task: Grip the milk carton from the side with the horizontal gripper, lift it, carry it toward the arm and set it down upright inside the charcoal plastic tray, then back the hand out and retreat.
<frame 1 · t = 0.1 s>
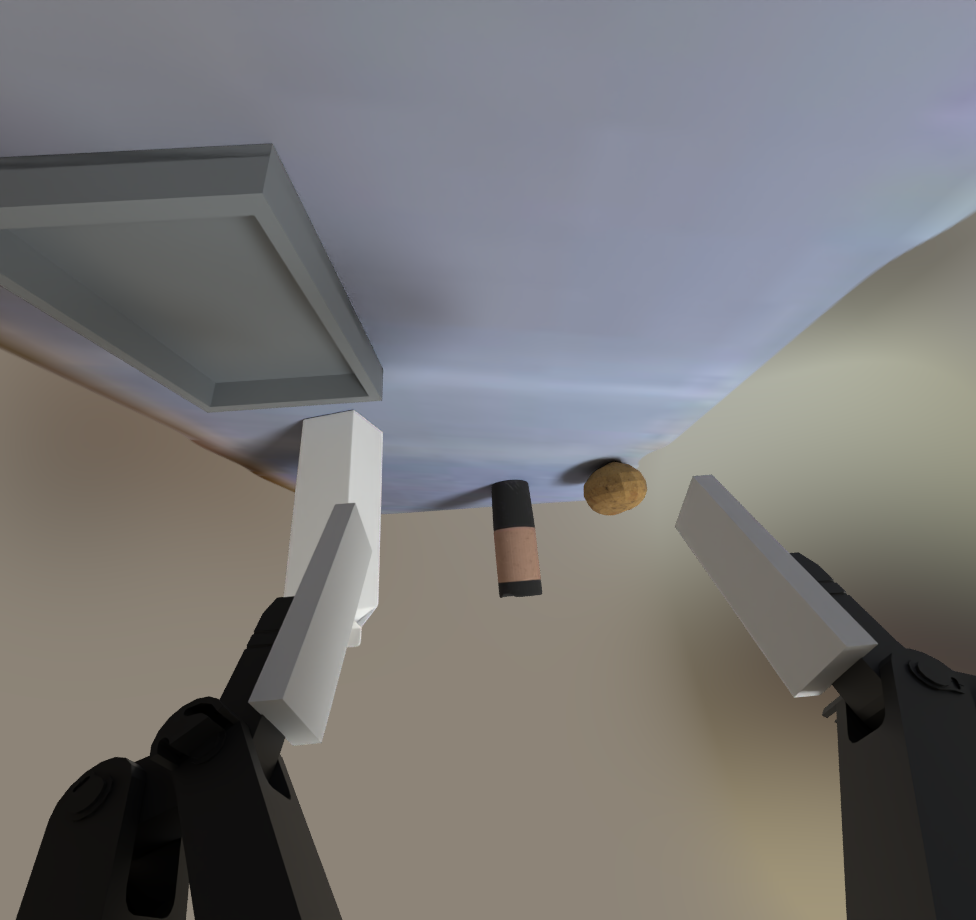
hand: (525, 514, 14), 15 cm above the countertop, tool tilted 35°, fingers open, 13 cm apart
milk: (345, 424, 39), on the countertop
travel mug: (509, 484, 68), on the countertop
potato: (610, 464, 60), on the countertop
tray: (233, 302, 22), on the countertop
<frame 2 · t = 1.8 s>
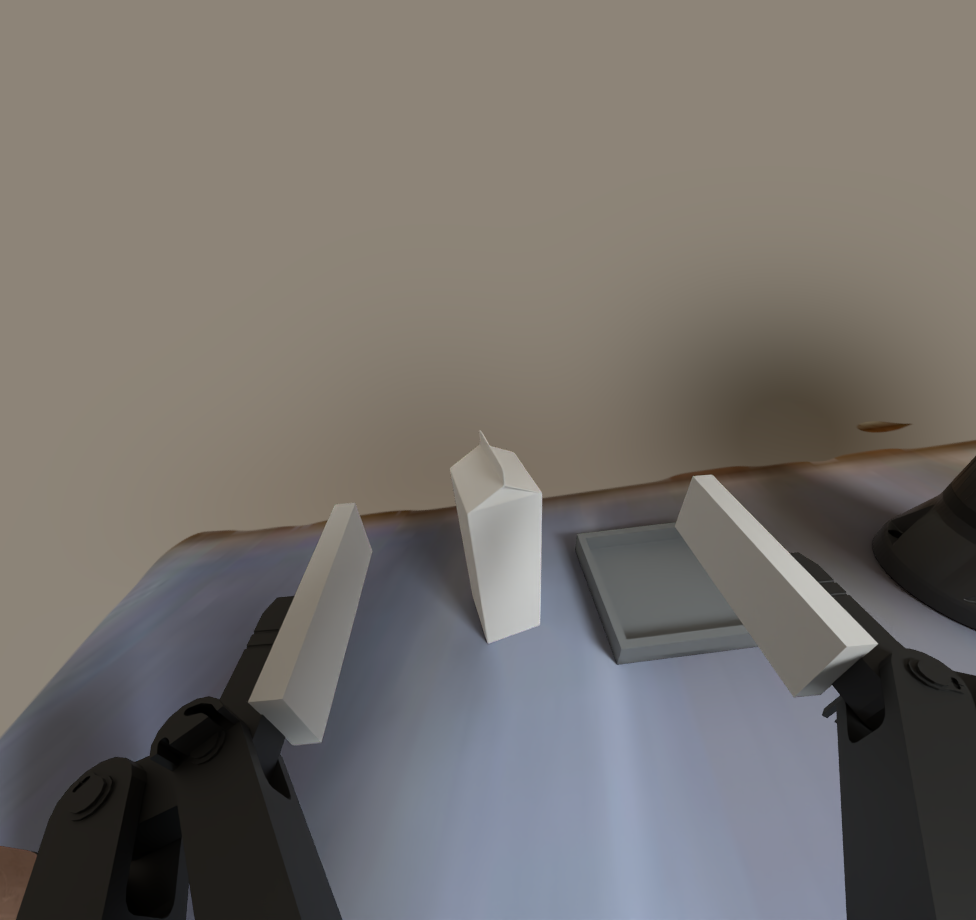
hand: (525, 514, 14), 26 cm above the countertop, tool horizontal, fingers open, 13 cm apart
milk: (505, 611, 39), on the countertop
tray: (663, 590, 39), on the countertop
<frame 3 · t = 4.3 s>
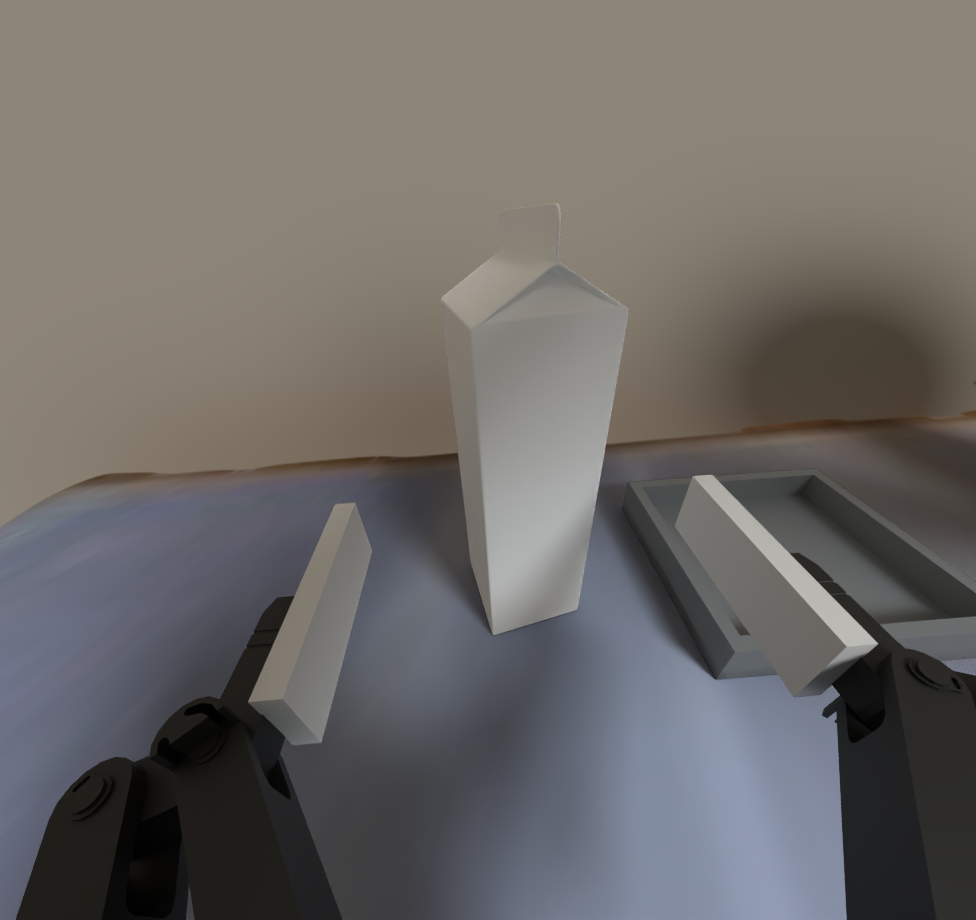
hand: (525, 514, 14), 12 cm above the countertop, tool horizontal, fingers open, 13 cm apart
milk: (520, 587, 25), on the countertop
tray: (767, 566, 25), on the countertop
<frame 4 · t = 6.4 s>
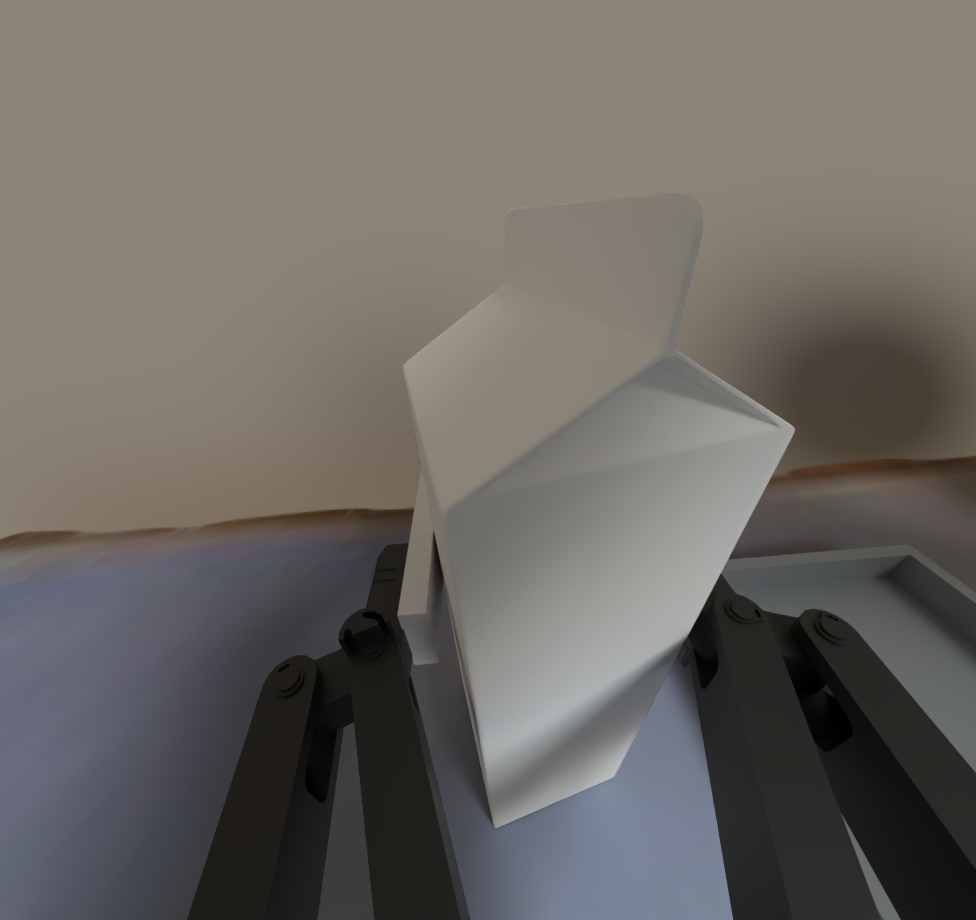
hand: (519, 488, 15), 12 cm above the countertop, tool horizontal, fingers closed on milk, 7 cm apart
milk: (531, 728, 18), on the countertop, touching gripper
tray: (867, 695, 19), on the countertop
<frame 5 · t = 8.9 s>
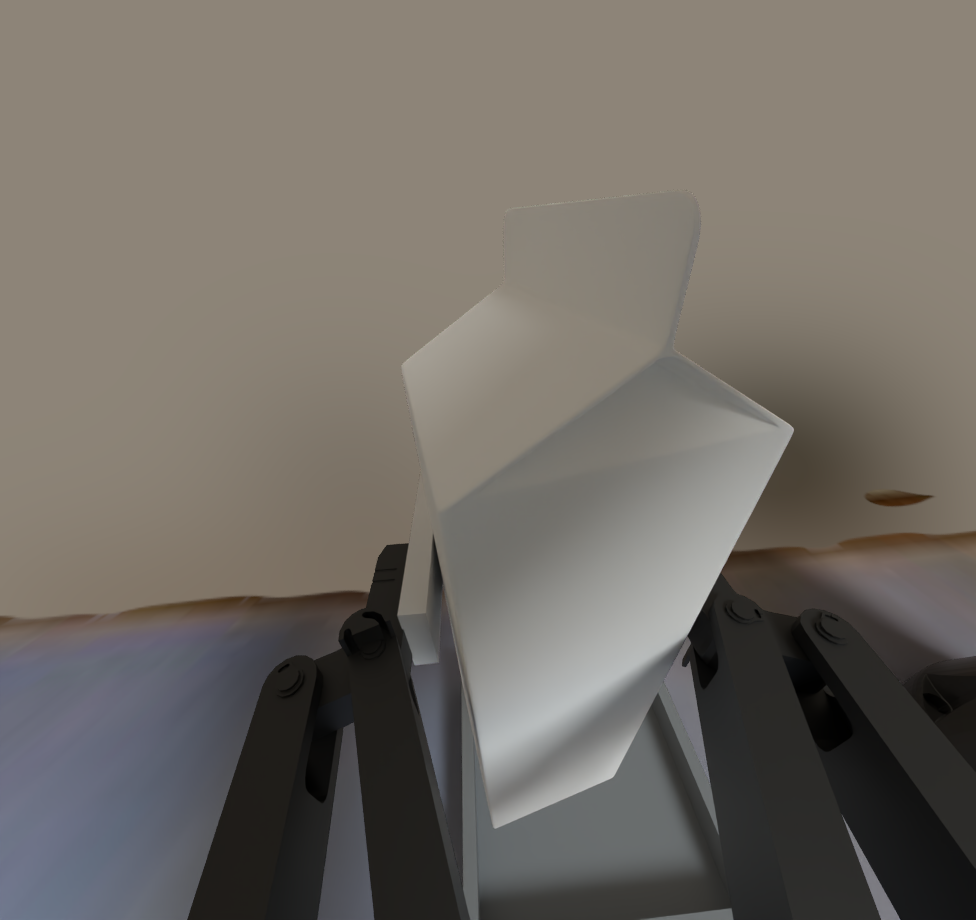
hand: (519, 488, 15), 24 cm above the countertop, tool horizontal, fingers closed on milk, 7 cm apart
milk: (531, 729, 18), point 12 cm above the countertop, touching gripper
tray: (576, 782, 25), on the countertop
when the fingers open (14 cm above the countertop, at t = 11.4 s): milk drops 2 cm, resting on tray.
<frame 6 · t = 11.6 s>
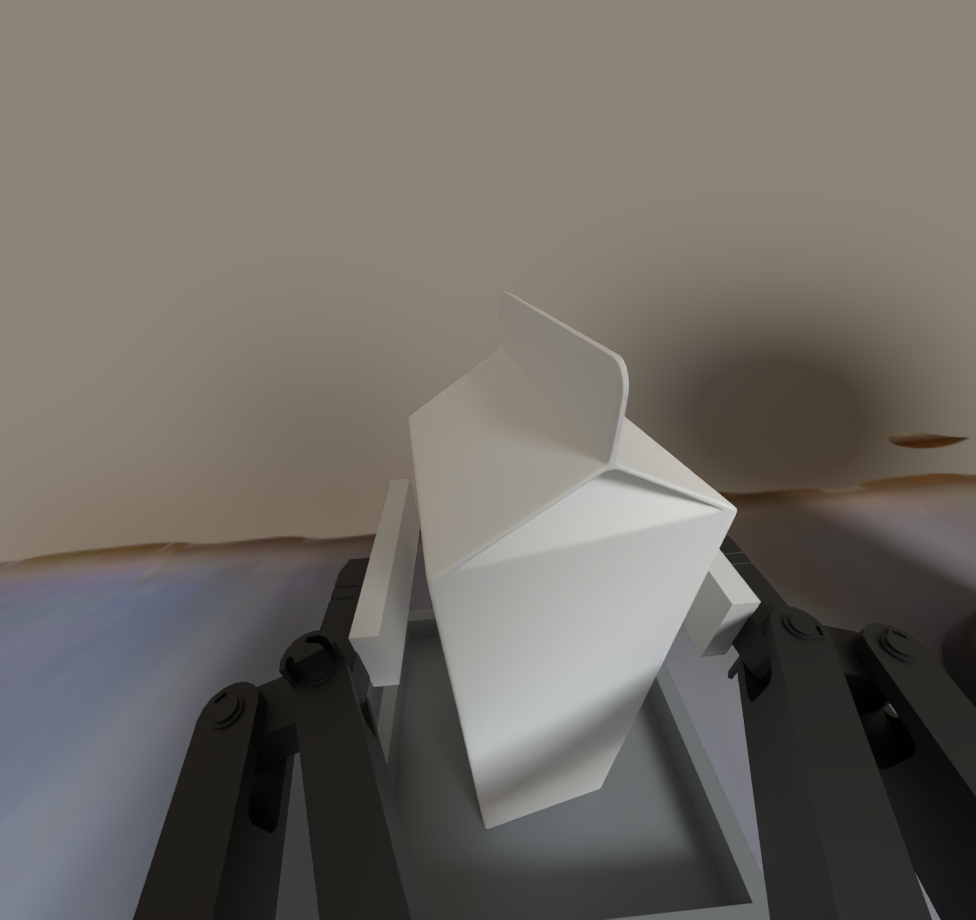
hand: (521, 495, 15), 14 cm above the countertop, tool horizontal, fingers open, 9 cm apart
milk: (525, 737, 19), point 1 cm above the countertop, touching tray
tray: (530, 744, 20), on the countertop
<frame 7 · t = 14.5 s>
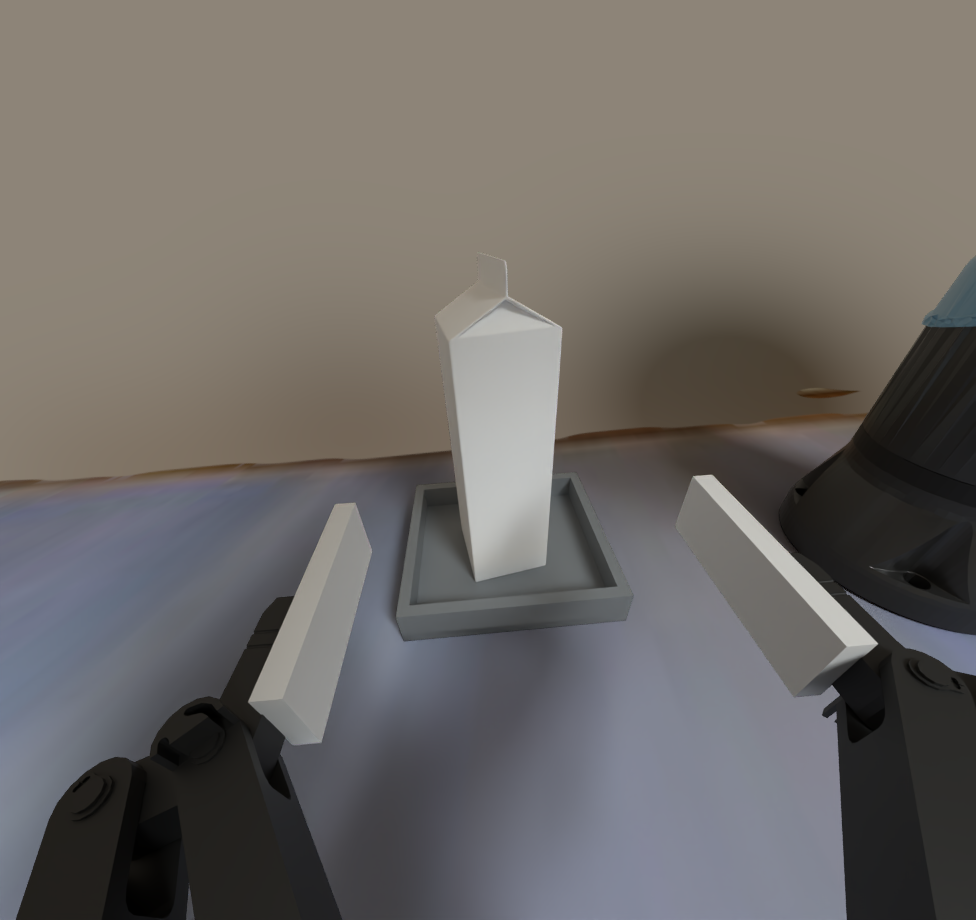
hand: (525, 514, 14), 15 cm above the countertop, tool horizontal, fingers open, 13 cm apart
milk: (501, 548, 31), point 1 cm above the countertop, touching tray
tray: (505, 553, 31), on the countertop
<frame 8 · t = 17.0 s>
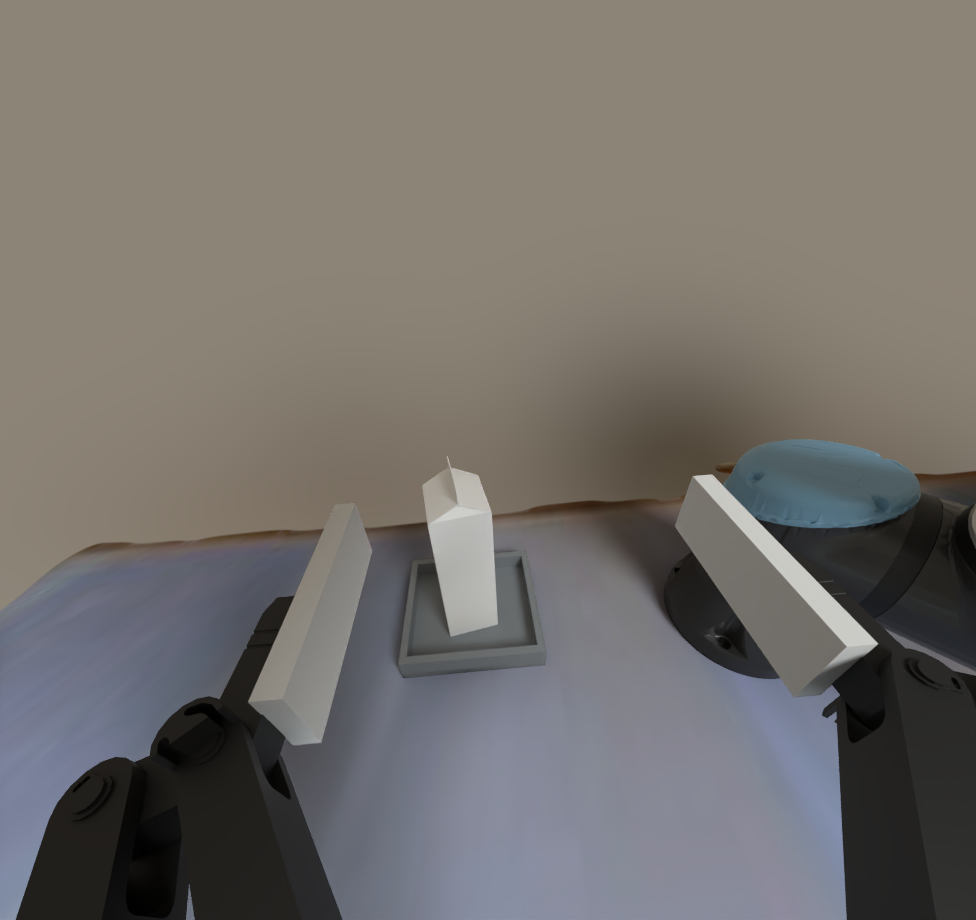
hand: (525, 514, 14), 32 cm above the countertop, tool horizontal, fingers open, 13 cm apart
milk: (469, 610, 45), point 1 cm above the countertop, touching tray
tray: (472, 613, 45), on the countertop
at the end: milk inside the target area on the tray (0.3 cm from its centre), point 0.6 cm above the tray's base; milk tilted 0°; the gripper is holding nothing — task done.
